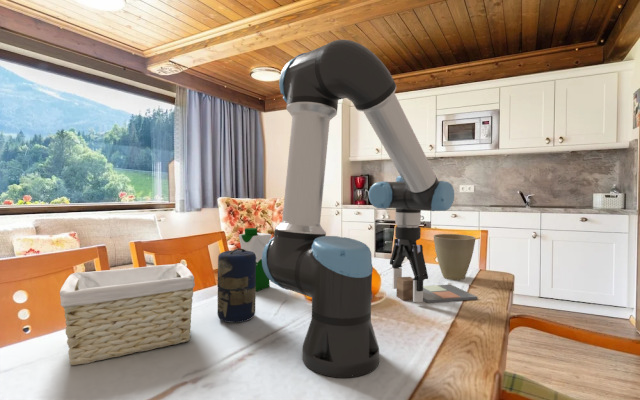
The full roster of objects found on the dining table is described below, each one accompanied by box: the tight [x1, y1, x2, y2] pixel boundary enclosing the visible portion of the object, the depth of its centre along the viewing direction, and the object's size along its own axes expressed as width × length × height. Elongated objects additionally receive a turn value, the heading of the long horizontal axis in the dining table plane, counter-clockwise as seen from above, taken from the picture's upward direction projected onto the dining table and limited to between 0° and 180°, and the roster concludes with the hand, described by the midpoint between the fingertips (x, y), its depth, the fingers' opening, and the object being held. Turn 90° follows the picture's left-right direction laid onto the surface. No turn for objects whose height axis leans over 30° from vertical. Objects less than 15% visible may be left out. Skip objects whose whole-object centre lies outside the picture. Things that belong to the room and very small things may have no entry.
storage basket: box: [59, 262, 196, 366], centre depth 76 cm, size 24×16×15 cm
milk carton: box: [238, 227, 272, 292], centre depth 118 cm, size 9×9×20 cm
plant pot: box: [433, 233, 476, 281], centre depth 134 cm, size 15×15×16 cm
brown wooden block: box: [395, 276, 414, 302], centre depth 109 cm, size 4×4×6 cm
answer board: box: [423, 284, 478, 304], centre depth 113 cm, size 17×14×1 cm
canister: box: [217, 247, 257, 323], centre depth 90 cm, size 10×10×18 cm
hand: (406, 294), depth 109 cm, fingers open, 13 cm apart
